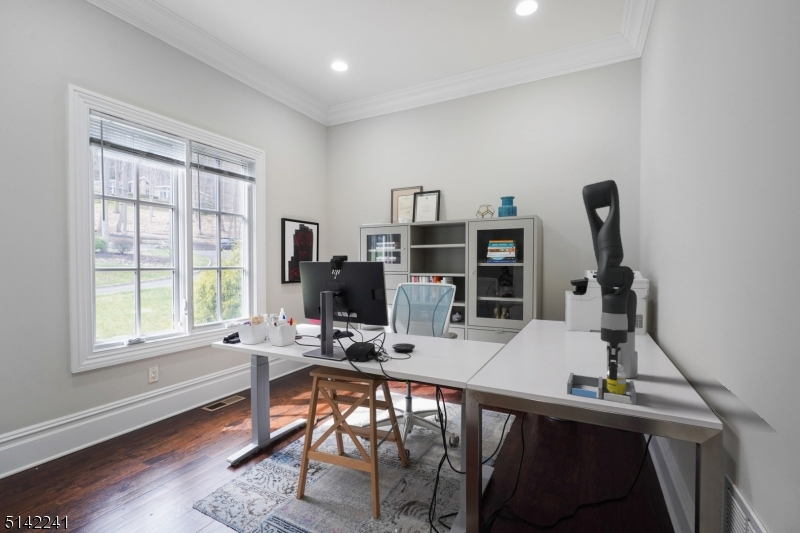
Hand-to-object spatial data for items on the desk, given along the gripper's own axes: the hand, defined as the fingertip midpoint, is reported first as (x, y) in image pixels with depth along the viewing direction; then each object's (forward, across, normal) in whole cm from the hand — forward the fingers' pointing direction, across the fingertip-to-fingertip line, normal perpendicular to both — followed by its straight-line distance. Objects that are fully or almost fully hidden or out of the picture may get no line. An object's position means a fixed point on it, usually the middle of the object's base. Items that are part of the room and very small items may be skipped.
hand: (613, 376), depth 117 cm
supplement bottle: (+6, 0, +1) cm, 6 cm away
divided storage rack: (+6, 0, -4) cm, 7 cm away
